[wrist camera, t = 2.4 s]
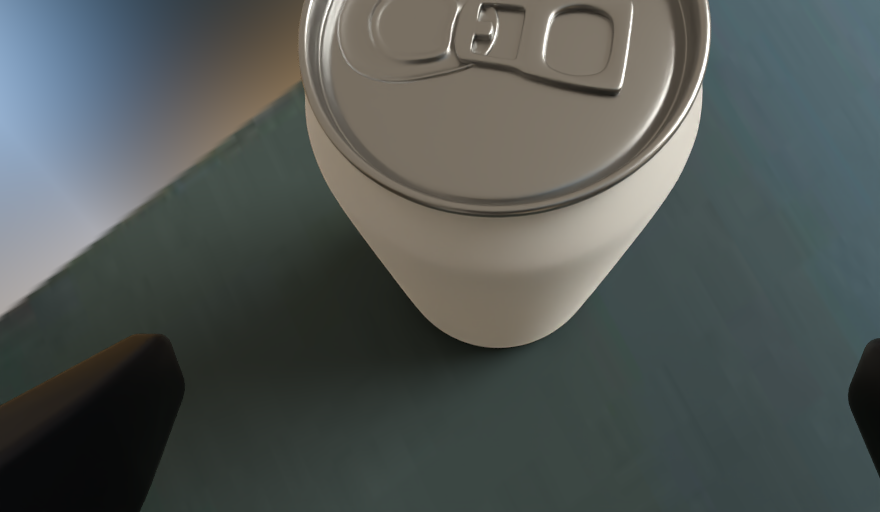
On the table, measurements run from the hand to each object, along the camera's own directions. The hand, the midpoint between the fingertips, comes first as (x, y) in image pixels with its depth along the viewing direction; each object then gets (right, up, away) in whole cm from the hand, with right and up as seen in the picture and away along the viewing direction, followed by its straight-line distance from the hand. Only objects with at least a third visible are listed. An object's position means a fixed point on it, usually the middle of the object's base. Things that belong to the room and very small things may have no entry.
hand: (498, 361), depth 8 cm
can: (+1, +1, +12) cm, 12 cm away
